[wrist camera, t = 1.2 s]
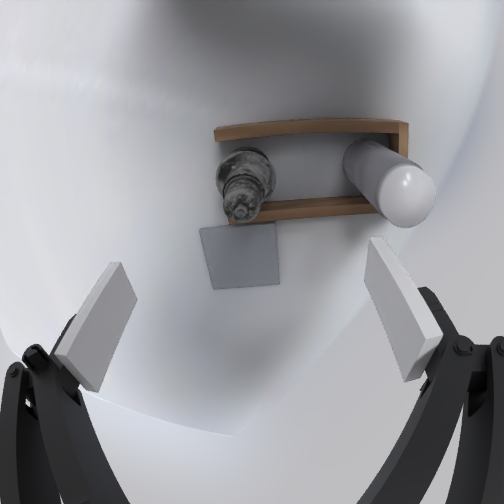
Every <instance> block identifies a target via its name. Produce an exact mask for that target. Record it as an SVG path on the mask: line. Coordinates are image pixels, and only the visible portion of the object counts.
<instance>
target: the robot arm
mask: <svg viewBox="0 0 504 504" xmlns="http://www.w3.org/2000/svg"><path fill="white" fill-rule="evenodd" d="M364 282H365V284H366V286H367V289H368V291H369V293H370V295H371V298H372V300H373V302H374V305H375V307H376V309H377V312H378V314H379V317H380V319H381V321H382V324H383V326H384V329H385V331H386V334H387V337H388V339H389V342H390V344H391V347H392V350H393V352H394V355H395V358H396V361H397V363H398V366H399V369H400V371H401V375H402V378H403V381H404V382H407V381H411V380H415V379H418V378H420V377H421V376H422V374H423V372H424V370H425V371H426V374H427V377H428V378H427V379H426V381H425V383H424V384H423V386H422V388H421V389H420V391H421V393H420V396H419V398H418V400H417V402H416V405H415V407H414V409H413V411H412V413H411V415H410V417H409V419H408V421H407V423H406V426H405V427H404V429H403V431H402V433H401V435H400V437H399V439H398V440H397V442H396V444H395V446H394V448H393V449H392V451H391V453H390V455H389V456H388V458H387V460H386V461H385V463H384V464H383V466H382V468H381V469H380V471H379V473H378V474H377V475H376V477H375V478H374V480H373V481H372V483H371V484H370V486H369V487H368V489H367V490H366V491H365V493H364V494H363V496H362V497H361V498H360V500H359V501H358V502H357V504H419V503H420V501H421V500H422V498H423V496H424V495H425V493H426V491H427V489H428V488H429V486H430V484H431V482H432V480H433V478H434V476H435V474H436V472H437V470H438V468H439V466H440V464H441V461H442V459H443V457H444V455H445V452H446V450H447V448H448V445H449V443H450V440H451V438H452V435H453V432H454V430H455V427H456V424H457V422H458V419H459V416H460V413H461V409H462V406H463V416H462V426H461V434H460V441H459V447H458V453H457V459H456V464H455V469H454V474H453V477H452V482H451V486H450V490H449V493H448V497H447V500H446V503H445V504H504V337H503V336H497V337H495V338H494V339H493V340H492V342H491V344H490V345H475V344H474V343H473V342H472V341H471V340H470V339H469V338H467V337H465V336H462V335H459V334H458V332H457V330H456V328H455V327H454V325H453V323H452V321H451V320H450V318H449V316H448V315H447V313H446V311H445V310H444V308H443V307H442V305H441V303H440V301H439V300H438V298H437V297H436V295H435V294H434V293H433V292H432V291H431V290H430V289H428V288H427V287H421V288H417V287H416V286H415V284H414V282H413V281H412V279H411V278H410V276H409V275H408V273H407V272H406V270H405V268H404V267H403V266H402V264H401V262H400V261H399V259H398V258H397V256H396V255H395V253H394V252H393V250H392V249H391V247H390V246H389V244H388V243H387V242H386V240H385V239H384V237H383V236H380V237H369V244H368V254H367V262H366V270H365V278H364ZM137 300H138V299H137V297H136V295H135V293H134V291H133V288H132V286H131V284H130V282H129V279H128V277H127V275H126V273H125V270H124V268H123V266H122V263H121V262H114V263H110V264H109V265H108V267H107V268H106V270H105V271H104V272H103V274H102V275H101V277H100V278H99V280H98V281H97V283H96V284H95V286H94V287H93V289H92V290H91V292H90V294H89V295H88V297H87V298H86V300H85V301H84V303H83V305H82V306H81V308H80V310H79V311H78V313H77V314H75V315H74V316H73V317H72V318H71V319H70V320H69V321H68V323H67V325H66V326H65V329H64V330H63V331H62V333H61V336H60V337H59V338H58V340H57V342H56V344H55V346H54V347H53V349H52V351H51V353H50V355H48V354H47V353H46V352H45V350H44V349H43V348H42V347H41V346H40V345H39V344H34V345H31V346H30V347H28V348H27V349H26V351H25V352H24V354H23V356H22V361H23V362H24V363H25V364H26V366H27V367H28V368H25V367H24V365H23V364H22V363H20V362H15V363H13V364H11V365H10V366H9V369H8V370H7V373H6V377H5V383H4V389H3V395H2V403H1V412H0V500H1V504H61V499H60V495H61V498H62V501H63V503H64V504H130V503H129V501H128V499H127V498H126V496H125V494H124V493H123V491H122V489H121V487H120V485H119V483H118V481H117V479H116V477H115V476H114V473H113V471H112V469H111V467H110V465H109V463H108V461H107V459H106V457H105V455H104V452H103V450H102V448H101V445H100V443H99V441H98V438H97V436H96V433H95V431H94V428H93V426H92V423H91V420H90V417H89V414H88V412H87V409H86V406H85V403H84V400H83V397H82V393H81V391H80V390H79V389H78V387H79V384H81V385H82V386H83V387H84V388H85V389H86V390H87V391H92V392H99V390H100V387H101V384H102V382H103V379H104V377H105V374H106V372H107V369H108V366H109V364H110V361H111V359H112V357H113V354H114V352H115V349H116V347H117V345H118V342H119V340H120V338H121V335H122V333H123V331H124V328H125V326H126V324H127V322H128V320H129V317H130V315H131V313H132V311H133V309H134V306H135V304H136V302H137ZM26 399H27V400H28V401H29V402H30V407H29V406H27V405H26V404H25V402H26ZM463 403H464V404H463ZM59 493H60V494H59Z"/></svg>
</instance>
